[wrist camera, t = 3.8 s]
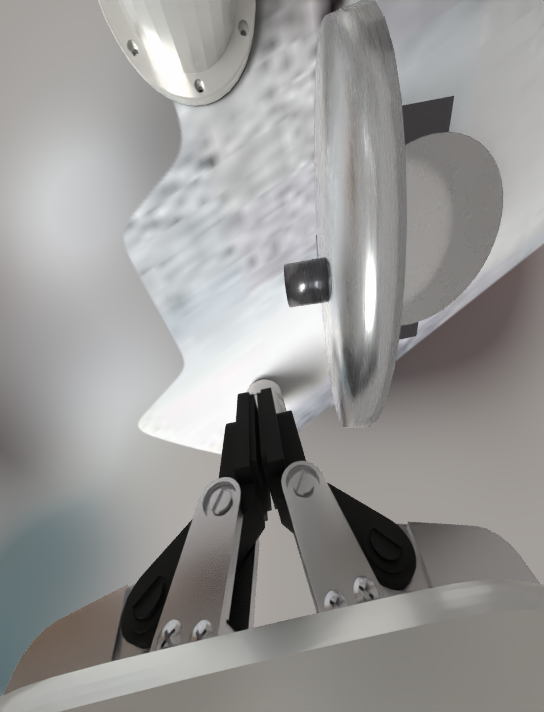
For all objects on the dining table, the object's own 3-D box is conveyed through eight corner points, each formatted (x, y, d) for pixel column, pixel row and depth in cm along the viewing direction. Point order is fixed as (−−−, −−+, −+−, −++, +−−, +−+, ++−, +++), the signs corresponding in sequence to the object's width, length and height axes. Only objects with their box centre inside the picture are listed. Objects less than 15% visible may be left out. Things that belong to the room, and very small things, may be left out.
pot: (293, 159, 22) (315, 113, 15) (450, 129, 23) (543, 70, 15) (310, 336, 32) (329, 359, 25) (420, 313, 32) (470, 329, 25)
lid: (330, 149, 16) (282, 163, 17) (771, -1586, 1) (65, -576, 2) (337, 340, 24) (303, 344, 25) (392, 515, 9) (298, 508, 9)
